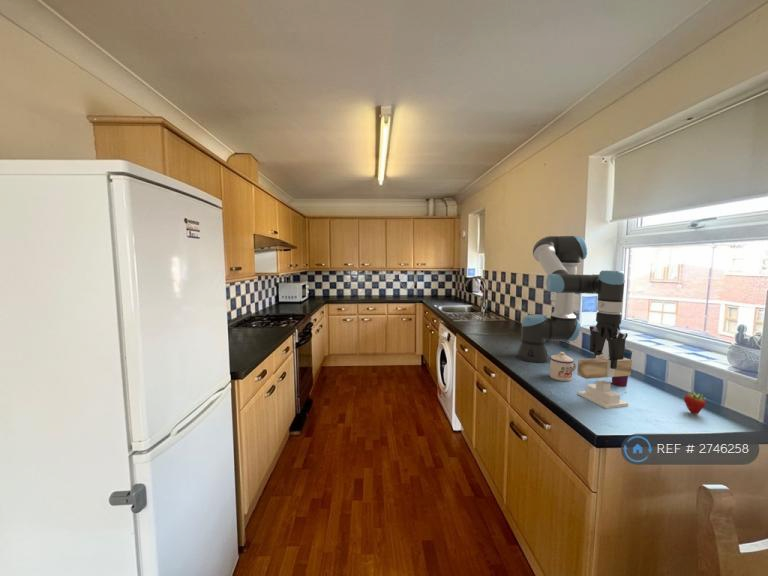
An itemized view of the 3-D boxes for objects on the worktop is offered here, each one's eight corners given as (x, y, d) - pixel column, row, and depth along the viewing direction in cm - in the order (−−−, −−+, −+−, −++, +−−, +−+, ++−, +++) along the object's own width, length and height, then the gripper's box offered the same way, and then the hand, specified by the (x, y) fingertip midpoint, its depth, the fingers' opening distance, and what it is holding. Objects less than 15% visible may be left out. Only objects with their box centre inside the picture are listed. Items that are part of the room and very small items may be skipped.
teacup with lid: (559, 382, 134) (560, 356, 132) (544, 374, 142) (546, 349, 141) (583, 380, 136) (585, 354, 135) (567, 373, 145) (568, 348, 144)
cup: (632, 388, 128) (636, 352, 127) (614, 386, 130) (617, 351, 128) (623, 381, 135) (626, 348, 134) (606, 380, 136) (608, 347, 135)
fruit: (699, 418, 104) (702, 395, 103) (679, 411, 109) (681, 389, 108) (707, 415, 106) (709, 393, 105) (687, 408, 111) (689, 387, 110)
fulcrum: (577, 394, 122) (579, 376, 121) (598, 392, 124) (600, 375, 123) (605, 408, 110) (607, 389, 110) (628, 405, 112) (629, 387, 112)
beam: (576, 374, 116) (578, 358, 115) (620, 371, 120) (621, 356, 120) (586, 378, 112) (587, 362, 111) (630, 375, 116) (632, 359, 116)
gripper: (580, 309, 122) (576, 367, 124) (623, 316, 105) (617, 383, 107) (596, 308, 123) (592, 366, 125) (640, 316, 106) (635, 382, 108)
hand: (604, 374), depth 116 cm, fingers closed on beam, 4 cm apart
